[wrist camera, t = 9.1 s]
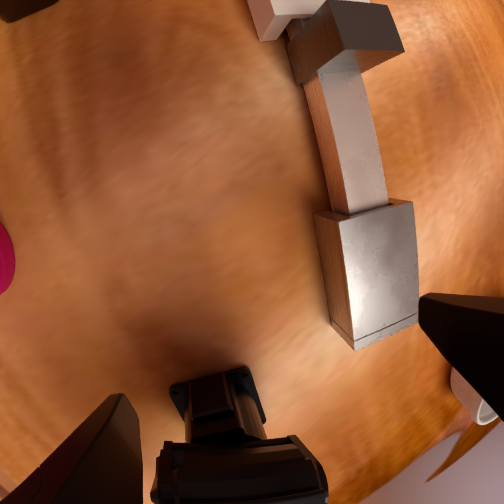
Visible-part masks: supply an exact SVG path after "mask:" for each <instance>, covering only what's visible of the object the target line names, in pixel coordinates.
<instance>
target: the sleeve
mask: <svg viewBox="0 0 504 504" xmlns="http://www.w3.org/2000/svg"><path fill="white" fill-rule="evenodd" d="M388 203H389V206H386V207H382V208H379V209H375V210H371V211H368V212H364V213H360V214H357V215H353V216H350V217H348V216H344V215H341V214H337V213H333V212H330V211H326V210H325V211H321V212H317V213H314V214H312V215H313V220H314V225H315V230H316V235H317V241H318V246H319V252H320V258H321V263H322V269H323V275H324V281H325V287H326V294H327V300H328V307H329V314H330V321H331V326H332V327H333V329H334V330H335V331H336V332H337V333H338V334H339V335H340V336H341V337H342V338H343V339H344V340H345V341H346V342H347V344H348V345H349V346H350V347H351V348H352V349H353V350H354V351H357V350H359V349H361V348H364V347H366V346H368V345H371V344H373V343H375V342H377V341H380V340H382V339H384V338H386V337H389V336H391V335H393V334H395V333H397V332H399V331H401V330H403V329H406V328H408V327H410V326H412V325H414V324H416V323H418V300H419V275H418V254H417V239H416V228H415V217H414V208H413V202H411V201H405V200H399V199H393V198H388Z"/></svg>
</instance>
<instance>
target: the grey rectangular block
mask: <svg viewBox="0 0 504 504" xmlns="http://www.w3.org/2000/svg"><path fill="white" fill-rule="evenodd" d="M325 1H326V0H247V2H248V6H249V9H250V12H251V15H252V18H253V21H254V25H255V28H256V31H257V35H258V38H259V41H260V42H263V41H273V40H277V39H278V37H279V36H280V34H281V33H282V32H283V30H284V29H285V27H286V26H287V25H288V23H289V22H290V20H291V19H293V18H311V17H312V15H313V14H314V13H315V12H316V11H317V10H318V9H319V7H320V6H321V5H322V4H323V3H324V2H325ZM346 1H357V2H366V3H370V0H346Z"/></svg>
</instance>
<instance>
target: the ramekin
mask: <svg viewBox="0 0 504 504" xmlns="http://www.w3.org/2000/svg"><path fill="white" fill-rule="evenodd" d="M450 380H451V389H452V391H453V393H454V395H455V396H456V398H457V399H458V400H459V401H460V403H461V404H462V405H463V406H464V407H465V408H466V410H467V411H468V412H469V413H470V416H471V418H472V419H473V420H474V421H475V422H476V423H477V424H479V425H485V424H487V423H489V422H491V421H493V420H494V419H496V418H497V417H498V415H497V414H496V413H495V412H494V411H493V410H492V408H491V407H490V406H489V405H488V404H487V403H486V402H485V401H484V400H483V398H482V397H481V396H480V395H479V394H478V393H477V392H476V391H475V390H474V389H473V388H472V386H471V385H470V384H469V383H468V382H467V381H466V380H465V379H464V378H463V377H462V376H461V375H460V374H459V373H458V372H457V370H456V369H455V368H454V367H453V366H452V370H451V376H450Z"/></svg>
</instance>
